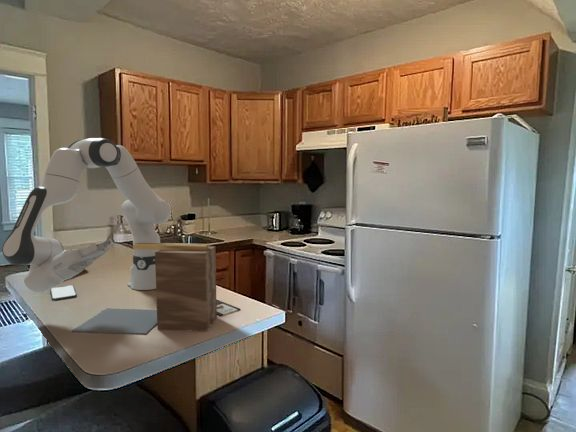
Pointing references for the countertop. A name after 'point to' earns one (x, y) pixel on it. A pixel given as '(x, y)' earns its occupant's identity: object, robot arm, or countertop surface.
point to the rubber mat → (120, 321)
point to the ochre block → (171, 246)
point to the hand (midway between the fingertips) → (103, 243)
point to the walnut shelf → (186, 289)
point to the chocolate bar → (225, 308)
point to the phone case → (63, 292)
